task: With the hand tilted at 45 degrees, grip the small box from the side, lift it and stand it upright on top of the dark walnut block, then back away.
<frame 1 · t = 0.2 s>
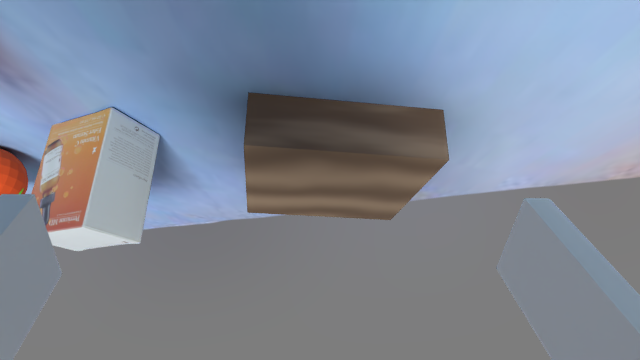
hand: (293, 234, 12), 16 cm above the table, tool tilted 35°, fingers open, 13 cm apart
small box: (107, 127, 39), on the table
walnut block: (332, 142, 42), on the table
clementine: (1, 147, 43), on the table
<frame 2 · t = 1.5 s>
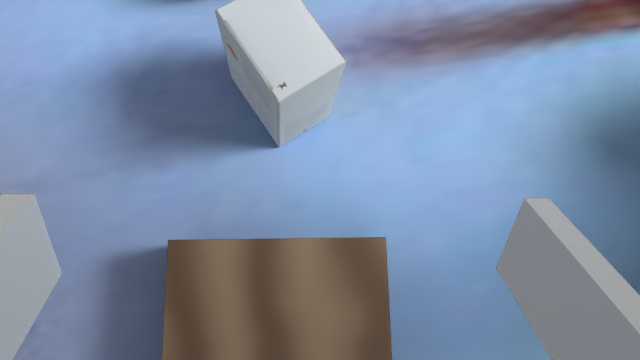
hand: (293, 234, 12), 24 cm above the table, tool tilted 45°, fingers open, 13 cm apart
small box: (280, 98, 39), on the table
walnut block: (279, 341, 35), on the table
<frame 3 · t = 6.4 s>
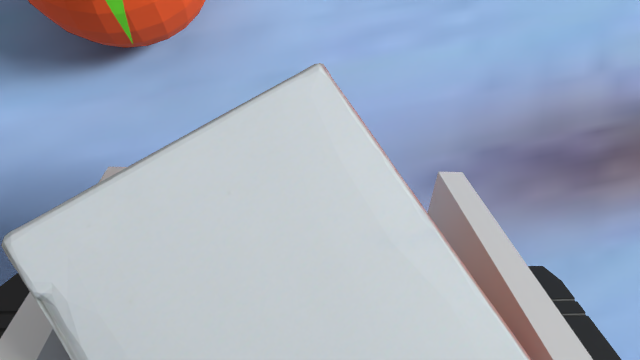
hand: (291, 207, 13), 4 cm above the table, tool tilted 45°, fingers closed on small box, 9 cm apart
small box: (287, 307, 16), on the table, touching gripper
clementine: (147, 17, 18), on the table
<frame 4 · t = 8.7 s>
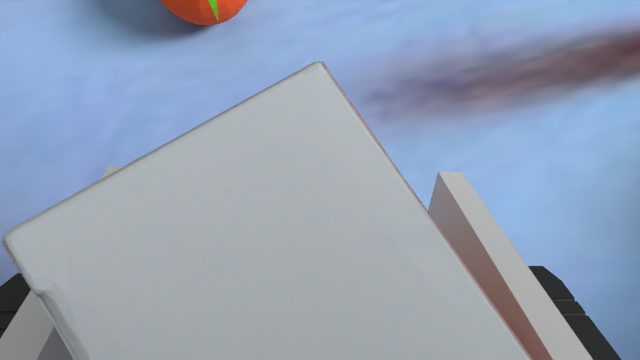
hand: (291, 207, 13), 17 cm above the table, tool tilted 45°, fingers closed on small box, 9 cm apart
small box: (287, 306, 16), point 13 cm above the table, touching gripper
clementine: (211, 9, 32), on the table
when the fingers open (10 cm above the table, at t = 11.4 s): small box drops 2 cm, resting on walnut block.
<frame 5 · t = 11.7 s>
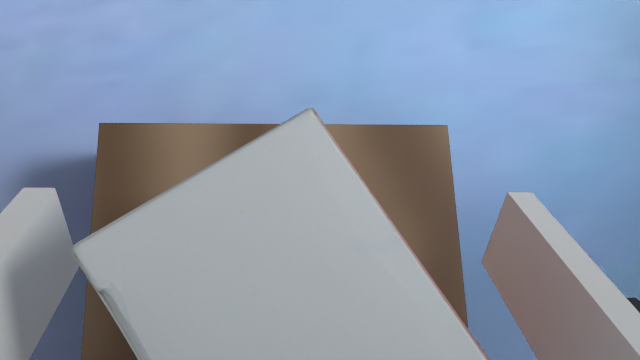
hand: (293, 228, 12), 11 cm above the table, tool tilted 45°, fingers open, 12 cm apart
small box: (288, 304, 18), point 4 cm above the table, touching walnut block
walnut block: (281, 297, 23), on the table, touching small box
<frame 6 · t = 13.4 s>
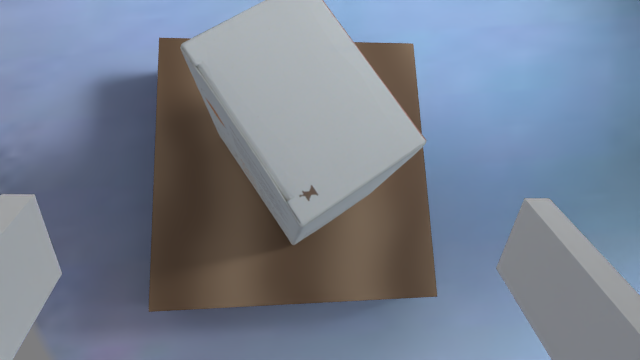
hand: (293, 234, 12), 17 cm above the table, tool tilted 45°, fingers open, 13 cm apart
small box: (293, 165, 25), point 4 cm above the table, touching walnut block
walnut block: (290, 181, 30), on the table, touching small box
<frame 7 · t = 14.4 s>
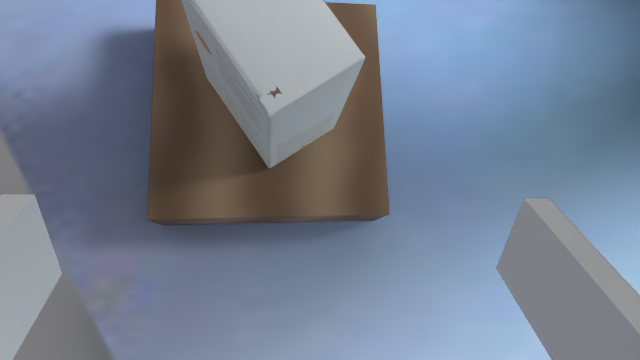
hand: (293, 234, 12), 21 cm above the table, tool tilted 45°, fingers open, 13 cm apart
small box: (270, 104, 30), point 4 cm above the table, touching walnut block
walnut block: (269, 125, 35), on the table, touching small box
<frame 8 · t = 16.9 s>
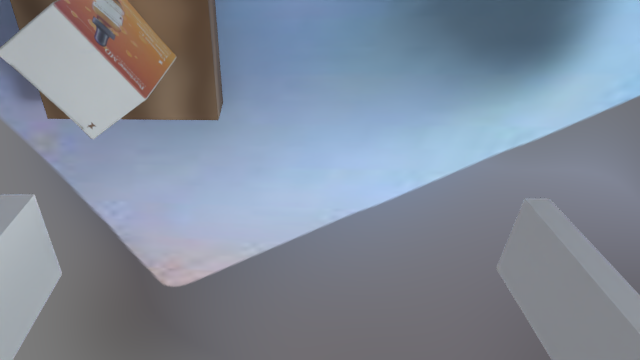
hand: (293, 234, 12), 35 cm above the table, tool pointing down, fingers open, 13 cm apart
small box: (122, 36, 38), point 4 cm above the table, touching walnut block
walnut block: (133, 22, 41), on the table, touching small box
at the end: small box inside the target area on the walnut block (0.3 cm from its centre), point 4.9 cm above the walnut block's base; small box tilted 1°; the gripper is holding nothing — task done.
